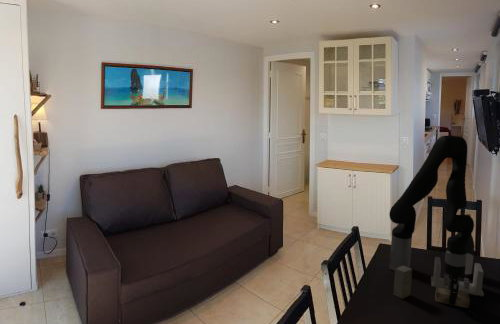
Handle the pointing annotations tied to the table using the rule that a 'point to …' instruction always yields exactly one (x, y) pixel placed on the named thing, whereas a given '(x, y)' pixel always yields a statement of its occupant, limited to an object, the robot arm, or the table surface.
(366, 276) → the table surface
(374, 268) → the table surface
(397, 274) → the skincare box
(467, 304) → the brown wooden block
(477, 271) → the frame
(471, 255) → the wine bottle
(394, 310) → the table surface
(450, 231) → the robot arm
